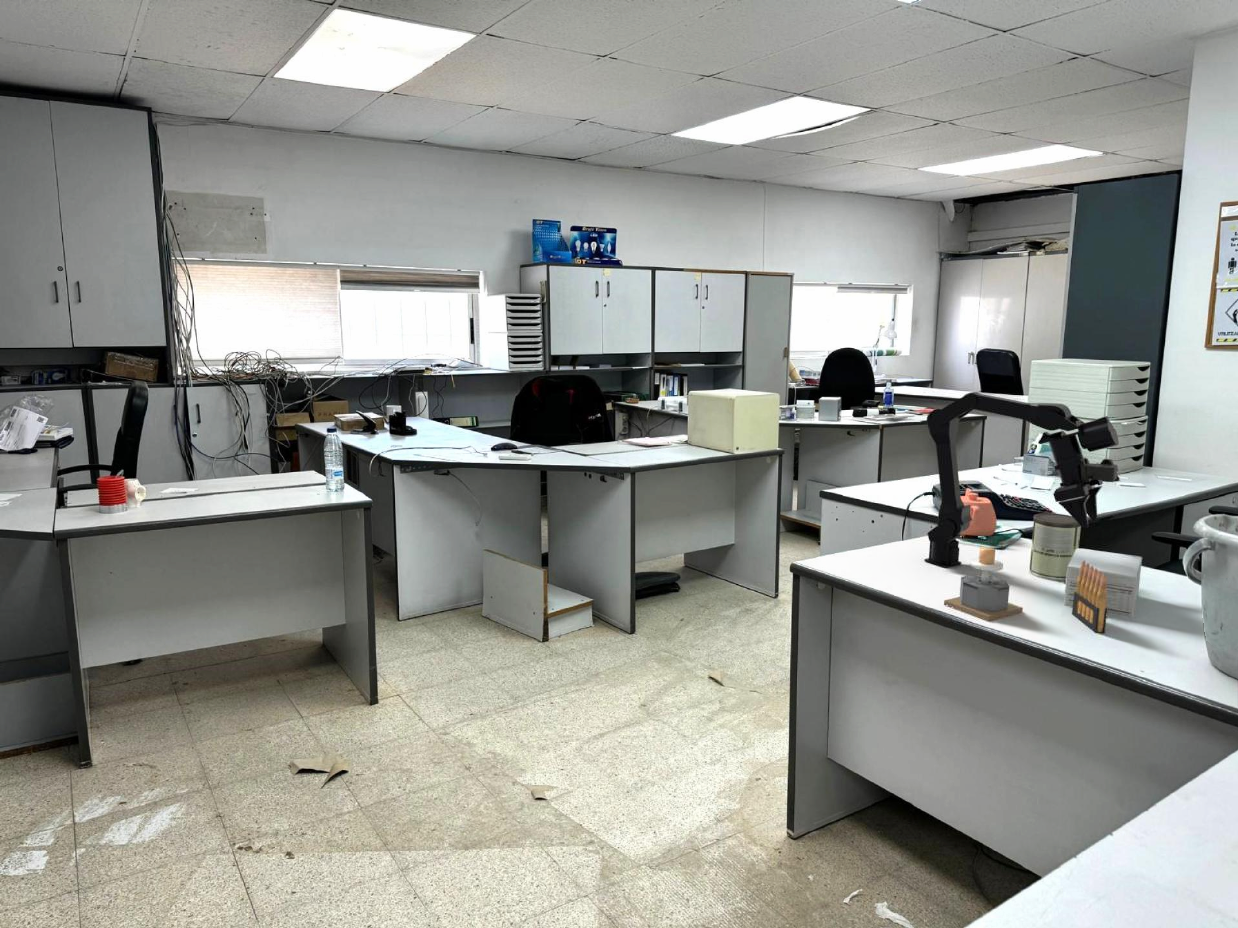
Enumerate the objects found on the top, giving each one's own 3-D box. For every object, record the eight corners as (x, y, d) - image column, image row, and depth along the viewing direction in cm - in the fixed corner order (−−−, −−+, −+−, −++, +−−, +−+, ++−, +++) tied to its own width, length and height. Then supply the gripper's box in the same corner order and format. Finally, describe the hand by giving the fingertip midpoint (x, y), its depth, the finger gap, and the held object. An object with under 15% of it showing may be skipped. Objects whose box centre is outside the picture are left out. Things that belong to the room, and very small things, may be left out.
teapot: (988, 527, 244) (992, 487, 242) (1000, 544, 225) (1004, 501, 223) (940, 524, 247) (943, 484, 245) (948, 541, 228) (951, 498, 226)
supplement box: (1072, 585, 191) (1076, 547, 190) (1138, 596, 184) (1143, 556, 182) (1062, 606, 178) (1066, 564, 176) (1133, 618, 170) (1138, 575, 169)
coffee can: (1021, 567, 205) (1026, 512, 202) (1065, 568, 204) (1070, 513, 201) (1038, 580, 195) (1044, 522, 192) (1084, 581, 194) (1090, 523, 191)
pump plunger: (961, 586, 176) (964, 547, 175) (981, 581, 179) (984, 543, 178) (987, 595, 171) (990, 554, 169) (1007, 590, 174) (1010, 550, 172)
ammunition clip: (1105, 633, 162) (1111, 575, 160) (1095, 633, 162) (1101, 574, 160) (1080, 614, 172) (1086, 559, 170) (1071, 613, 173) (1077, 559, 170)
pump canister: (943, 604, 178) (945, 578, 177) (977, 596, 183) (980, 570, 182) (987, 620, 168) (990, 593, 167) (1022, 612, 174) (1024, 584, 172)
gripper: (1098, 453, 174) (1122, 523, 173) (1115, 443, 188) (1138, 508, 187) (1043, 466, 181) (1065, 534, 180) (1064, 455, 195) (1085, 518, 194)
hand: (1090, 523), depth 185 cm, fingers open, 9 cm apart
